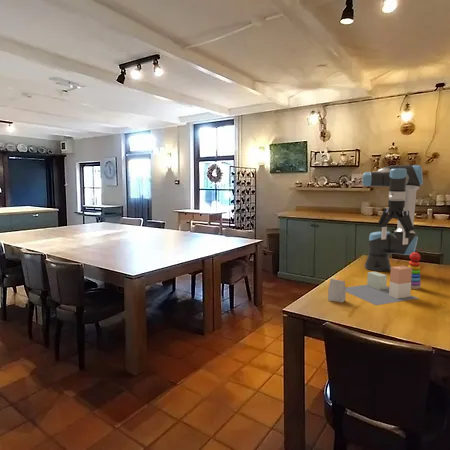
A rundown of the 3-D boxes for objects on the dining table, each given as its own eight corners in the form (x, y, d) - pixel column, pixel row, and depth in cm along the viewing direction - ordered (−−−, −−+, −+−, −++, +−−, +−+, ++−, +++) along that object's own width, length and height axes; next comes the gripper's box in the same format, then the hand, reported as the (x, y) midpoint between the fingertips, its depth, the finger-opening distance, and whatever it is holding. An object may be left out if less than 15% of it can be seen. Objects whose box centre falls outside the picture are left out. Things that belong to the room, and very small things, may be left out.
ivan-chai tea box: (341, 303, 166) (342, 282, 164) (327, 300, 170) (328, 279, 169) (345, 301, 169) (346, 280, 167) (331, 298, 173) (332, 277, 172)
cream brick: (397, 298, 171) (398, 284, 170) (389, 295, 176) (389, 281, 175) (410, 296, 174) (411, 282, 173) (401, 293, 179) (402, 279, 178)
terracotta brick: (398, 284, 170) (399, 269, 169) (389, 281, 175) (390, 267, 174) (411, 282, 173) (412, 268, 172) (402, 279, 178) (403, 265, 177)
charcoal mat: (338, 289, 187) (338, 288, 187) (378, 283, 196) (378, 283, 196) (375, 306, 163) (375, 305, 162) (419, 299, 172) (419, 298, 172)
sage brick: (367, 285, 192) (367, 272, 191) (374, 284, 194) (375, 271, 193) (378, 289, 184) (379, 276, 183) (386, 288, 186) (386, 275, 185)
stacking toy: (401, 287, 190) (404, 252, 187) (406, 284, 195) (408, 249, 193) (418, 290, 184) (420, 254, 182) (422, 287, 190) (425, 252, 187)
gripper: (372, 198, 191) (370, 237, 195) (412, 202, 168) (409, 247, 172) (383, 197, 194) (380, 236, 197) (424, 201, 171) (420, 245, 174)
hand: (394, 241), depth 185 cm, fingers open, 13 cm apart
